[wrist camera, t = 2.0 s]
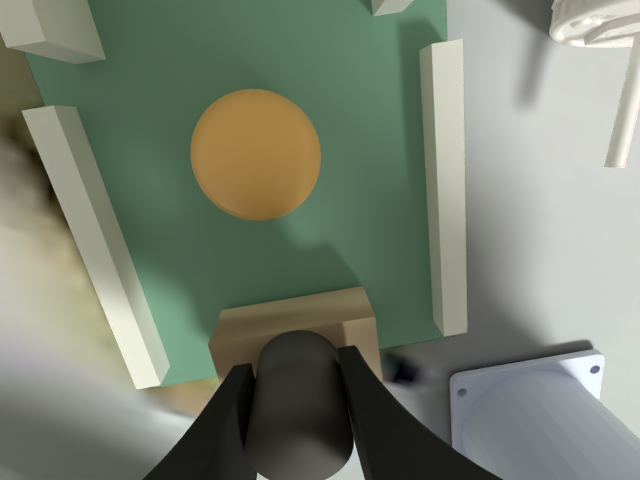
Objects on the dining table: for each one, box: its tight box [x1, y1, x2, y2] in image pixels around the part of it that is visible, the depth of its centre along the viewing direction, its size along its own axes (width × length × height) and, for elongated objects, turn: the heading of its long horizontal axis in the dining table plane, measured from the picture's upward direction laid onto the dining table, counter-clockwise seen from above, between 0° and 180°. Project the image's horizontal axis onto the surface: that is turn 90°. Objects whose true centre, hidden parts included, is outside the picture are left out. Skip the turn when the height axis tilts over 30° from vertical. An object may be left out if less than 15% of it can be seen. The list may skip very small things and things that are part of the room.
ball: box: [190, 89, 321, 221], centre depth 11 cm, size 4×4×4 cm
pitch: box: [0, 0, 467, 389], centre depth 12 cm, size 18×14×4 cm
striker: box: [208, 286, 383, 480], centre depth 12 cm, size 3×6×6 cm, turn 99°
